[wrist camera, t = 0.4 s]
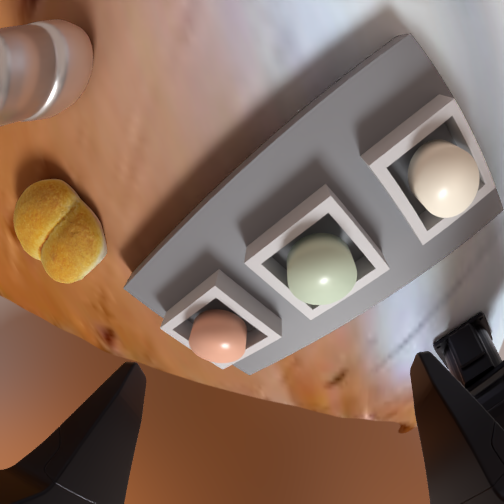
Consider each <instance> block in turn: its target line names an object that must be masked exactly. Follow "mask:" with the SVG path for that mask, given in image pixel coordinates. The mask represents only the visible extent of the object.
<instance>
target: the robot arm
mask: <svg viewBox="0 0 504 504" xmlns="http://www.w3.org/2000/svg"><path fill="white" fill-rule="evenodd" d="M433 347H434V349H435V351H436V352H437V354H438V355H439V357H440V358H441V359H442V361H443V362H444V364H445V365H446V367H447V368H448V369H449V370H450V372H449V371H448V370H447V369H446V368H445V367H444V366H443V365H442V363H441V362H440V361H439V360H438V359H437V358H436V357H435V356H434V355H433V354H432V353H431V352H429V351H425V352H419V353H417V354H416V356H415V359H414V361H413V364H412V366H411V369H410V376H411V383H412V391H413V399H414V409H415V416H416V421H417V426H418V431H419V435H420V440H421V446H422V451H423V457H424V462H425V468H426V475H427V481H428V488H429V496H430V504H504V361H502V360H501V358H500V356H499V354H498V352H497V350H496V348H495V346H494V344H493V342H492V336H491V333H490V330H489V327H488V324H487V321H486V318H485V315H484V314H483V313H482V312H481V313H479V314H477V315H476V316H475V317H473V318H472V319H470V320H469V321H468V322H466V323H465V324H463V325H462V326H460V327H459V328H457V329H456V330H454V331H453V332H451V333H450V334H448V335H447V336H445V337H444V338H442V339H441V340H439V341H437V342H436V343H435V344H434V345H433ZM145 388H146V377H145V375H144V373H143V371H142V370H141V368H140V367H139V365H138V364H137V363H136V362H125V363H124V364H123V365H121V366H120V367H119V368H118V370H116V371H115V372H114V373H113V374H112V375H111V376H110V377H109V378H108V379H107V380H106V381H105V382H104V383H103V384H102V385H101V386H100V387H99V388H98V389H97V390H96V391H95V392H94V393H93V394H92V395H91V396H90V397H89V398H88V399H87V400H86V401H85V402H84V403H83V404H82V405H81V406H80V407H79V408H78V409H77V410H76V411H75V412H74V413H73V414H72V415H71V416H70V417H69V418H68V419H66V420H65V421H64V423H62V424H61V426H60V427H58V429H56V430H55V431H54V432H53V433H52V434H51V435H50V436H49V437H48V438H47V439H46V440H45V441H44V442H43V443H42V444H40V445H39V446H38V447H37V448H36V449H34V450H33V451H32V452H31V453H29V454H28V455H27V456H25V457H24V458H23V459H22V460H20V461H19V462H18V463H17V464H16V465H14V466H12V467H10V468H8V469H4V470H0V504H124V501H125V495H126V490H127V485H128V480H129V475H130V470H131V465H132V460H133V456H134V451H135V446H136V442H137V438H138V433H139V429H140V424H141V419H142V411H143V404H144V396H145Z"/></svg>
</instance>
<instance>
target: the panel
mask: <svg viewBox="0 0 504 504" xmlns="http://www.w3.org/2000/svg"><path fill="white" fill-rule="evenodd" d="M436 139H441V140H446V141H448V142H450V143H452V144H454V145H456V146H458V147H459V148H461V149H463V150H465V151H466V152H468V153H469V154H470V155H471V156H472V157H473V158H474V160H475V162H476V164H477V166H478V170H479V187H478V191H477V194H476V196H475V198H474V200H473V202H472V203H471V204H470V206H469V207H468V208H467V209H466V210H465V211H463V212H462V213H460V214H458V215H456V216H454V217H450V218H441V217H437V216H435V215H433V214H431V213H430V212H429V211H428V210H427V209H426V208H425V207H424V206H423V204H422V203H421V202H420V201H419V200H418V199H417V198H416V197H415V196H414V194H413V193H412V191H411V189H410V187H409V183H408V167H409V164H410V161H411V159H412V157H413V155H414V153H415V152H416V151H417V150H418V148H420V147H421V146H422V145H423V144H425V143H427V142H429V141H431V140H436ZM502 211H503V207H502V204H501V201H500V198H499V195H498V192H497V189H496V186H495V183H494V180H493V178H492V175H491V173H490V170H489V168H488V165H487V163H486V161H485V158H484V156H483V154H482V151H481V149H480V147H479V145H478V143H477V140H476V138H475V136H474V134H473V132H472V130H471V128H470V126H469V124H468V122H467V120H466V118H465V116H464V115H463V113H462V111H461V109H460V107H459V105H458V104H457V102H456V100H455V98H454V97H453V96H452V94H451V92H450V91H449V89H448V87H447V86H446V84H445V82H444V81H443V79H442V78H441V76H440V74H439V73H438V71H437V70H436V68H435V67H434V65H433V64H432V62H431V61H430V59H429V58H428V56H427V55H426V54H425V52H424V51H423V49H422V48H421V47H420V45H419V44H418V43H417V41H416V40H415V39H414V37H413V36H412V35H411V34H405V35H400V36H397V37H396V38H394V39H393V40H391V41H390V42H389V43H387V44H386V45H384V46H383V47H382V48H380V49H379V50H378V51H376V52H375V53H373V54H372V55H371V56H369V57H368V58H367V59H365V60H364V61H363V62H361V63H360V64H359V65H358V66H356V67H355V68H354V69H352V70H351V71H350V72H348V73H347V74H346V75H345V76H343V77H342V78H341V79H340V80H338V81H337V82H336V83H334V84H333V85H332V86H331V87H329V88H328V89H327V90H326V91H324V92H323V93H322V94H321V95H320V96H318V97H317V98H316V99H315V100H313V101H312V102H311V103H310V104H309V105H307V106H306V107H305V108H304V109H303V110H301V111H300V112H299V113H298V114H297V115H296V116H294V117H293V118H292V119H291V120H290V121H289V122H287V123H286V124H285V125H284V126H283V127H282V128H280V129H279V130H278V131H277V132H276V133H275V134H274V135H272V136H271V137H270V138H269V139H268V140H267V141H266V142H264V143H263V144H262V145H261V146H260V147H259V148H258V149H257V150H256V151H254V152H253V153H252V154H251V155H250V156H249V157H248V158H247V159H246V160H245V161H243V162H242V163H241V164H240V165H239V166H238V167H237V168H236V169H235V170H234V171H233V172H232V173H231V174H229V175H228V176H227V177H226V178H225V179H224V180H223V181H222V182H221V183H220V184H219V185H218V186H217V187H216V188H215V189H214V190H213V191H212V192H211V193H209V194H208V195H207V196H206V197H205V198H204V199H203V200H202V201H201V202H200V203H199V204H198V205H197V206H196V207H195V208H194V209H193V210H192V211H191V212H190V213H189V214H188V215H187V216H186V217H185V218H184V219H183V220H182V221H181V222H180V223H179V224H178V225H177V226H176V227H175V228H174V229H173V230H172V231H171V232H170V233H169V234H168V235H167V236H166V237H165V238H164V240H163V241H162V242H161V243H160V244H159V245H158V246H157V247H156V248H155V249H154V250H153V251H152V252H151V253H150V254H149V255H148V256H147V257H146V258H145V260H144V261H143V262H142V263H141V264H140V265H139V266H138V267H137V268H136V269H135V270H134V271H133V272H132V274H131V276H130V277H129V279H128V281H127V283H126V284H125V286H124V289H125V290H126V291H128V292H129V293H130V294H131V295H133V296H134V297H135V298H137V299H138V300H139V301H141V302H142V303H143V304H145V305H146V306H147V307H149V308H150V309H151V310H153V311H154V312H155V313H157V314H158V315H159V316H161V317H162V318H164V319H163V322H162V324H161V327H160V329H162V330H163V331H165V332H166V333H167V334H169V335H170V336H172V337H173V338H175V339H176V340H178V341H179V342H181V343H182V344H184V345H185V346H187V347H188V348H190V345H189V337H190V334H191V330H192V326H193V323H194V320H195V318H196V317H197V315H199V314H200V313H202V312H204V311H207V310H212V309H220V310H226V311H229V312H232V313H234V314H236V315H237V316H239V317H240V318H241V319H242V320H243V321H244V322H245V324H246V326H247V338H246V348H245V353H244V355H243V356H242V357H241V358H240V359H238V360H236V361H233V362H229V363H215V362H212V363H213V364H215V365H216V366H218V367H220V368H221V369H224V368H226V367H228V366H230V365H234V366H235V367H237V368H238V369H240V370H242V371H243V372H245V373H247V374H248V375H251V374H253V373H255V372H257V371H259V370H261V369H263V368H265V367H267V366H269V365H271V364H273V363H275V362H277V361H279V360H281V359H283V358H285V357H287V356H289V355H291V354H292V353H294V352H296V351H298V350H300V349H302V348H304V347H305V346H307V345H309V344H311V343H313V342H314V341H316V340H318V339H320V338H322V337H323V336H325V335H327V334H329V333H330V332H332V331H334V330H336V329H337V328H339V327H341V326H342V325H344V324H346V323H347V322H349V321H351V320H352V319H354V318H356V317H357V316H359V315H361V314H362V313H364V312H365V311H367V310H369V309H370V308H372V307H373V306H375V305H377V304H378V303H380V302H381V301H383V300H384V299H386V298H387V297H389V296H390V295H392V294H393V293H395V292H396V291H398V290H399V289H401V288H402V287H404V286H405V285H407V284H408V283H410V282H411V281H413V280H414V279H416V278H417V277H418V276H420V275H421V274H423V273H424V272H425V271H427V270H428V269H430V268H431V267H432V266H434V265H435V264H437V263H438V262H439V261H441V260H442V259H443V258H445V257H446V256H447V255H449V254H450V253H451V252H453V251H454V250H455V249H457V248H458V247H459V246H460V245H462V244H463V243H464V242H466V241H467V240H468V239H469V238H471V237H472V236H473V235H474V234H476V233H477V232H478V231H479V230H481V229H482V228H483V227H484V226H485V225H487V224H488V223H489V222H490V221H491V220H493V219H494V218H495V217H496V216H497V215H498V214H500V213H501V212H502ZM315 233H328V234H333V235H335V236H337V237H339V238H341V239H342V240H343V241H344V242H345V243H346V244H347V245H348V247H349V249H350V251H351V254H352V257H353V260H354V263H355V266H356V269H357V279H356V283H355V285H354V287H353V288H352V290H351V291H350V292H349V293H348V294H347V295H346V296H345V297H343V298H342V299H340V300H338V301H336V302H334V303H331V304H326V305H312V304H308V303H305V302H302V301H301V300H299V299H297V298H296V297H295V296H294V295H293V294H292V292H291V291H290V289H289V286H288V281H287V256H288V253H289V251H290V249H291V248H292V246H293V245H294V244H295V243H296V242H297V241H299V240H300V239H302V238H303V237H305V236H308V235H311V234H315ZM190 349H191V348H190ZM191 350H192V349H191Z"/></svg>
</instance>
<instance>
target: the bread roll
mask: <svg viewBox="0 0 504 504" xmlns="http://www.w3.org/2000/svg"><path fill="white" fill-rule="evenodd" d="M14 227H15V231H16V234H17V237H18V239H19V241H20V243H21V245H22V247H23V249H24V250H25V251H26V252H27V253H28V254H29V255H30V256H32V257H34V258H36V259H38V260H41V261H42V264H43V267H44V269H45V271H46V272H47V273H48V275H49V276H50V277H51V278H52V279H54V280H55V281H58V282H61V283H73V282H75V281H78V280H81V279H83V277H84V276H86V275H87V274H88V273H89V272H90V271H91V270H92V269H93V268H94V267H95V266H96V265H97V264H98V263H100V262H101V260H102V259H103V258H104V257H105V255H106V254H107V245H106V240H105V237H104V232H103V229H102V225H101V223H100V221H99V219H98V218H97V216H96V215H95V214H94V212H93V211H92V210H91V209H90V208H89V207H88V206H87V205H86V204H85V202H83V201H82V200H81V199H80V197H79V196H78V194H77V193H76V192H75V191H74V190H73V189H72V188H71V187H70V186H69V185H68V184H67V183H66V182H64V181H63V180H60V179H46V180H41V181H38V182H36V183H33V184H32V185H30V186H29V187H28V188H26V189H25V191H24V192H23V193H22V195H21V196H20V198H19V200H18V201H17V204H16V206H15V211H14Z"/></svg>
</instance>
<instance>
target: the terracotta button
mask: <svg viewBox="0 0 504 504" xmlns="http://www.w3.org/2000/svg"><path fill="white" fill-rule="evenodd" d="M246 338H247V326H246V324H245V322H244V321H243V320H242V319H241V318H240V317H239V316H237V315H236V314H234V313H232V312H229V311H226V310H220V309H212V310H207V311H204V312H202V313H200V314H199V315H197V317H196V318H195V320H194V323H193V326H192V330H191V334H190V337H189V345H190V348H191V349H192V351H193V352H194V353H195V354H196V355H198V356H199V357H201V358H203V359H205V360H207V361H210V362H215V363H229V362H233V361H236V360H238V359H240V358H241V357H242V356H243V355H244V353H245V348H246Z"/></svg>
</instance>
